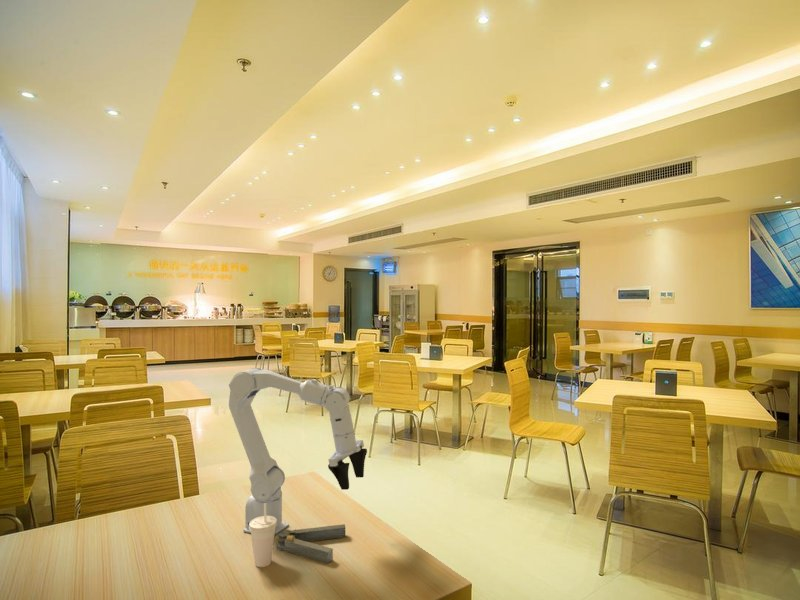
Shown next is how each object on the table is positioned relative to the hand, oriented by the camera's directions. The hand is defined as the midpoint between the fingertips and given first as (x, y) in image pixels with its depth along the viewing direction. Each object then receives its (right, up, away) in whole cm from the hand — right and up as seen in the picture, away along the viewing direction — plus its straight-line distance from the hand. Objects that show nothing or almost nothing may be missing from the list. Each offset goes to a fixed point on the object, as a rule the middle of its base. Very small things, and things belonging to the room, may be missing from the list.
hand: (352, 482), depth 120 cm
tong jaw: (-10, -13, -4) cm, 17 cm away
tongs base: (-11, -13, -9) cm, 19 cm away
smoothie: (-20, -13, -14) cm, 28 cm away
